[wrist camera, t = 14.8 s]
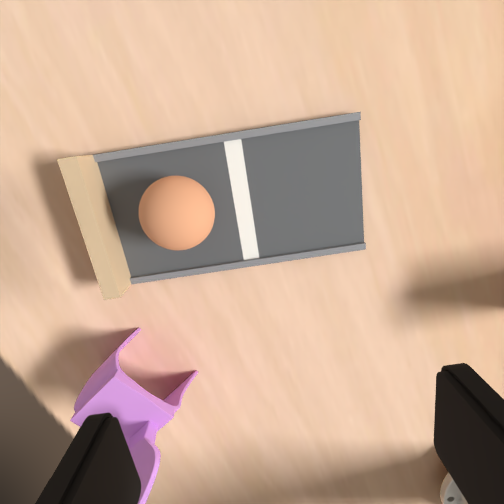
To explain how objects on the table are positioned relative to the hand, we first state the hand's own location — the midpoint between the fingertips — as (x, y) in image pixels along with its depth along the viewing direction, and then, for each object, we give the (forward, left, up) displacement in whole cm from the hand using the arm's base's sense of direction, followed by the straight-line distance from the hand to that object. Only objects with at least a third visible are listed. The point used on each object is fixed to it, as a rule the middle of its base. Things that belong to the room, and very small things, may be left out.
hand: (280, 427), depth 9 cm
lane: (+2, -3, -22) cm, 23 cm away
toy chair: (+14, +13, -23) cm, 30 cm away
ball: (+7, -3, -16) cm, 17 cm away
